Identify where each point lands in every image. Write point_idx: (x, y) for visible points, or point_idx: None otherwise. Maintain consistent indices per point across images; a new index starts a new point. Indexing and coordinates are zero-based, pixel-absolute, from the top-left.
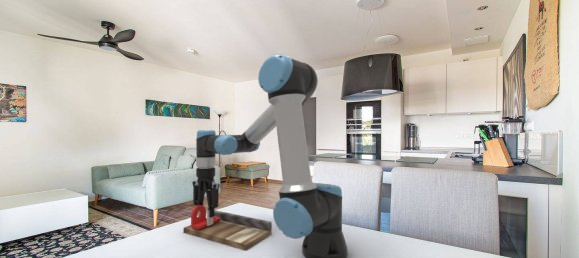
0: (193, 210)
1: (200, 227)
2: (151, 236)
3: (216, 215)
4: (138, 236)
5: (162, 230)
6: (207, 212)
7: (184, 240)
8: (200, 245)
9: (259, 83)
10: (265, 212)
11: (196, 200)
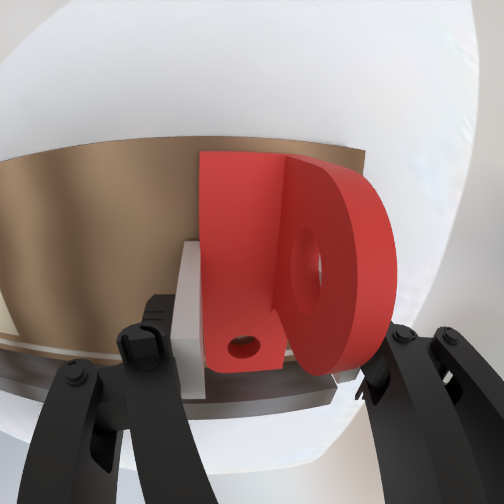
0: (370, 212)
1: (199, 169)
2: (439, 58)
3: (272, 381)
4: (470, 54)
5: (453, 137)
6: (189, 313)
7: (238, 52)
8: (83, 64)
9: None
10: None
11: (451, 382)
